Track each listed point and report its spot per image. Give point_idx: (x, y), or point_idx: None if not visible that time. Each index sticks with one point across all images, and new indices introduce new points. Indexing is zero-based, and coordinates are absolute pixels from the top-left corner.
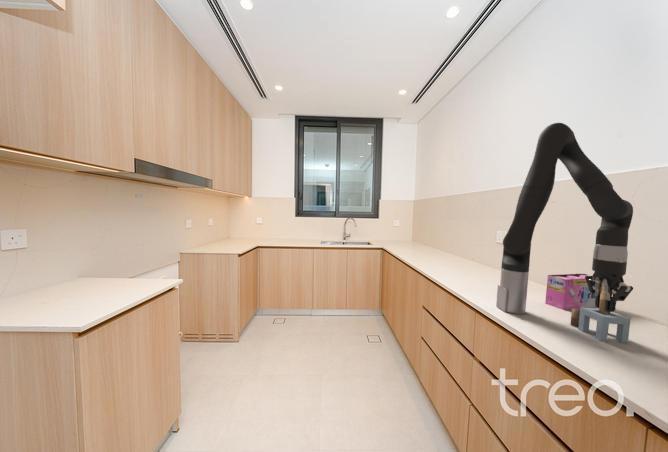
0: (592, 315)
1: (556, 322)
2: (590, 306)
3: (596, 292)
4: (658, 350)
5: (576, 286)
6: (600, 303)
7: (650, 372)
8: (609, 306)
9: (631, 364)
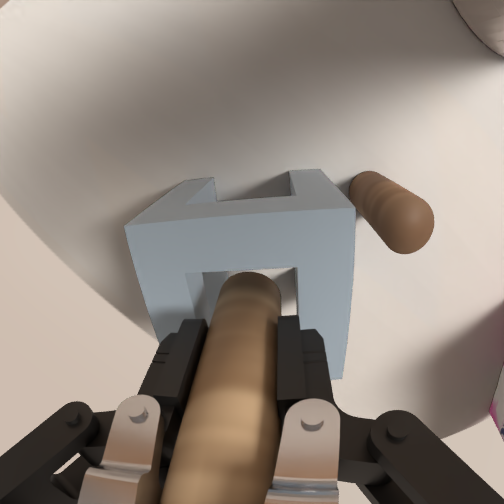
0: (220, 207)
1: (396, 111)
2: (498, 389)
3: (307, 447)
4: None
5: None
6: (238, 347)
7: (9, 182)
8: (165, 357)
9: (28, 159)
